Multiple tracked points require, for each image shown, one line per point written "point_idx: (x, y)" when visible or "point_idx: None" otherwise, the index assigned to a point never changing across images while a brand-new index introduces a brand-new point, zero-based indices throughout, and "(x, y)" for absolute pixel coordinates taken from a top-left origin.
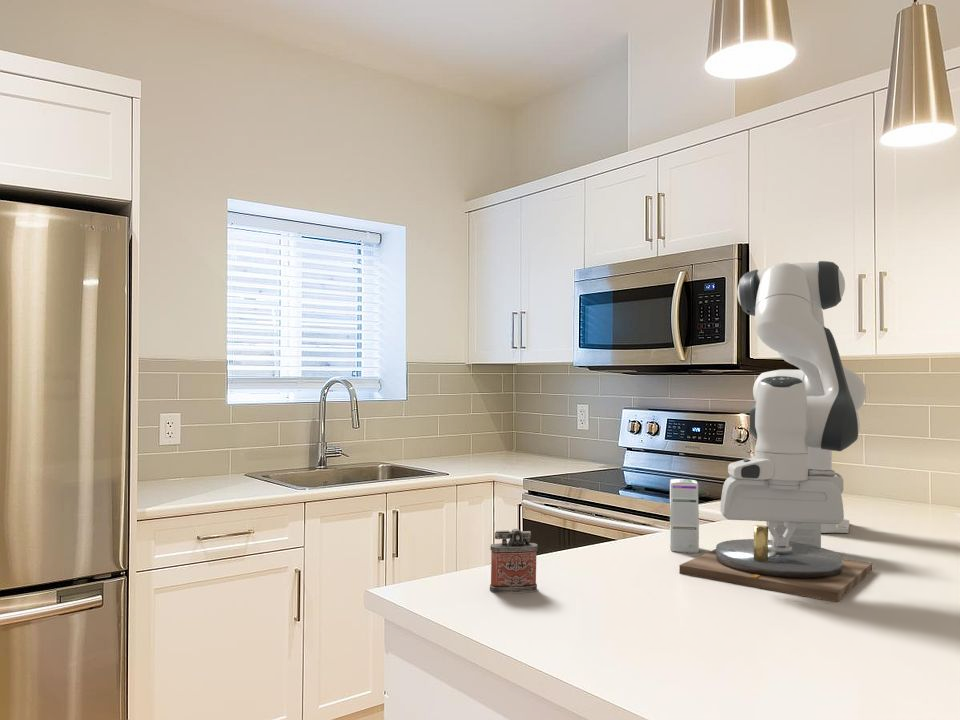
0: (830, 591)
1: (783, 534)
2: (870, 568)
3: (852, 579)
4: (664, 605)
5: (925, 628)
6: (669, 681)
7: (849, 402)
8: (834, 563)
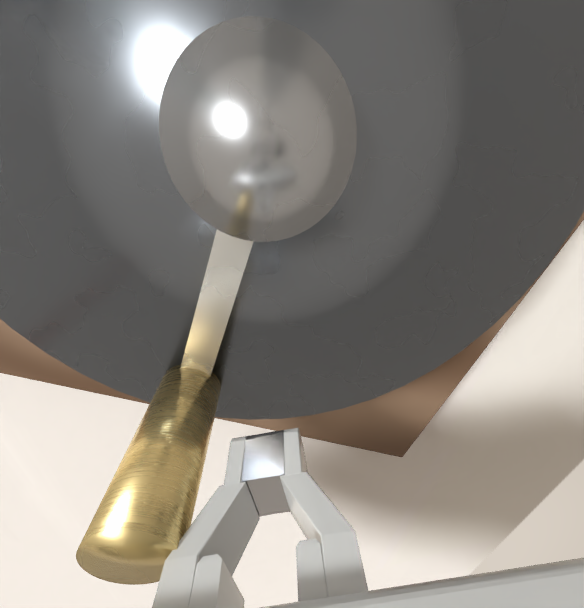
0: (388, 452)
1: (286, 486)
2: None
3: (511, 312)
4: (53, 556)
5: (498, 510)
6: None
7: None
8: (494, 320)
